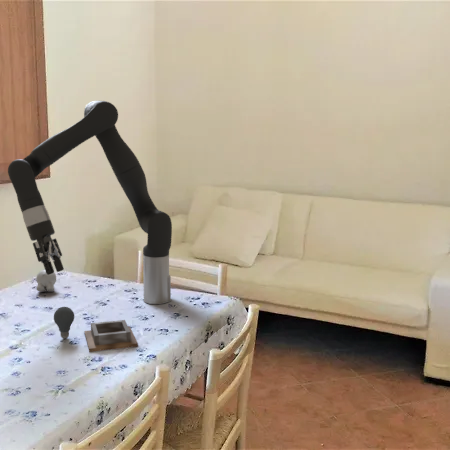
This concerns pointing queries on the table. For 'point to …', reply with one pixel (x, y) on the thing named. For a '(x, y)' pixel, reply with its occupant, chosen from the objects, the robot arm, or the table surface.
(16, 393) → the table surface
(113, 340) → the socket stand
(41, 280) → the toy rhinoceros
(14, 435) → the table surface
